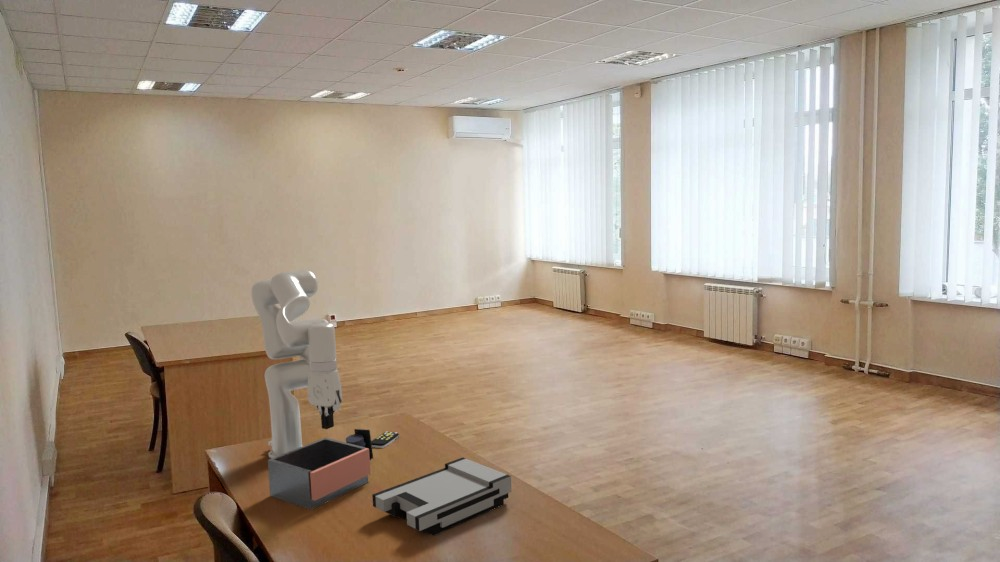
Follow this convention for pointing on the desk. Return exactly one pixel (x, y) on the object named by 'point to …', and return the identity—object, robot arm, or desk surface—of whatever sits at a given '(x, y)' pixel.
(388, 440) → the remote control
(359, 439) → the speaker
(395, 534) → the desk surface
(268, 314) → the robot arm
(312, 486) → the tailgate
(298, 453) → the box
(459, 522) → the game console
